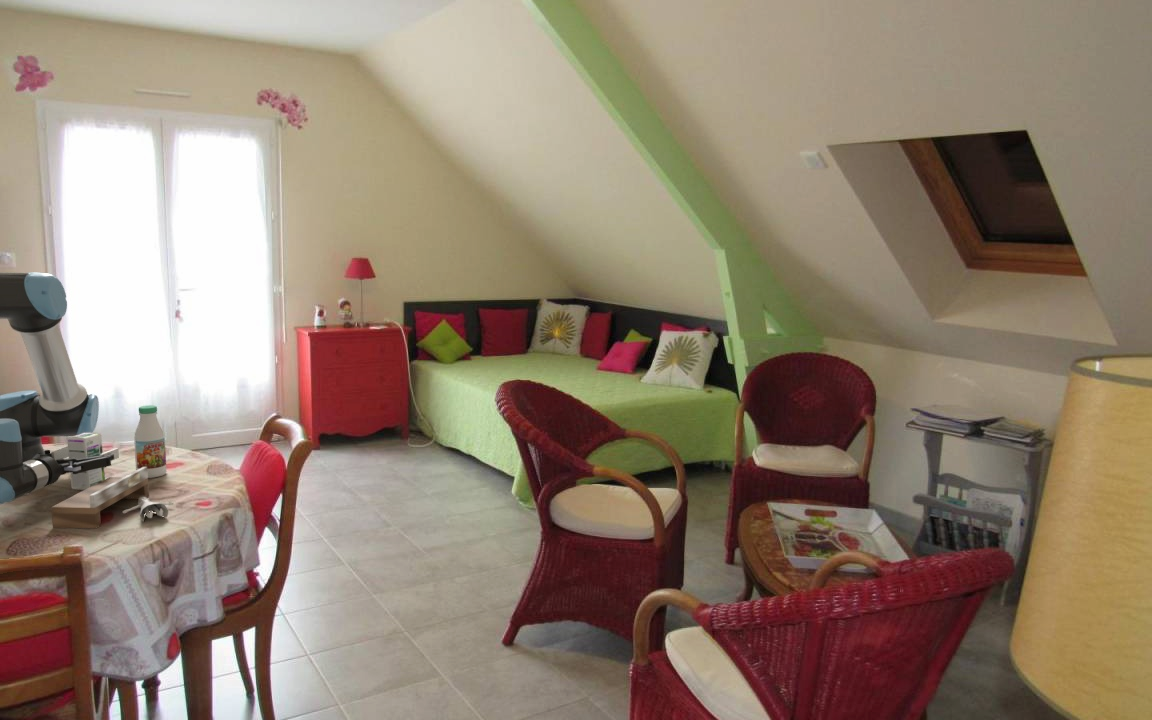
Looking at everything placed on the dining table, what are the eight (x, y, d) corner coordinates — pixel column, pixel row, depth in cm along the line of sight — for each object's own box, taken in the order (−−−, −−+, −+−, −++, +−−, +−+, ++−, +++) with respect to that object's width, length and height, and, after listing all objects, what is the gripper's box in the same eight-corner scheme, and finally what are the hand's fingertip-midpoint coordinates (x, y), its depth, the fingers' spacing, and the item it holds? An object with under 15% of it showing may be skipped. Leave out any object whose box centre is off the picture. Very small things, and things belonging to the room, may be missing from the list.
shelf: (110, 495, 211) (108, 466, 210) (150, 496, 211) (148, 466, 210) (52, 527, 187) (50, 494, 186) (97, 528, 187) (95, 495, 186)
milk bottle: (130, 476, 228) (125, 407, 225) (153, 469, 235) (149, 402, 232) (149, 480, 225) (145, 410, 222) (172, 473, 232) (169, 405, 229)
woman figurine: (128, 510, 187) (115, 495, 202) (129, 529, 188) (117, 513, 202) (182, 501, 194) (166, 487, 209) (183, 519, 195) (167, 504, 209)
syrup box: (89, 490, 214) (85, 438, 212) (70, 489, 216) (66, 436, 213) (105, 484, 220) (102, 433, 218) (87, 483, 221) (83, 431, 219)
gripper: (-10, 486, 200) (51, 463, 221) (85, 490, 198) (138, 467, 219) (-13, 457, 199) (49, 436, 220) (83, 461, 197) (136, 440, 218)
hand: (93, 451), depth 219 cm, fingers open, 13 cm apart
